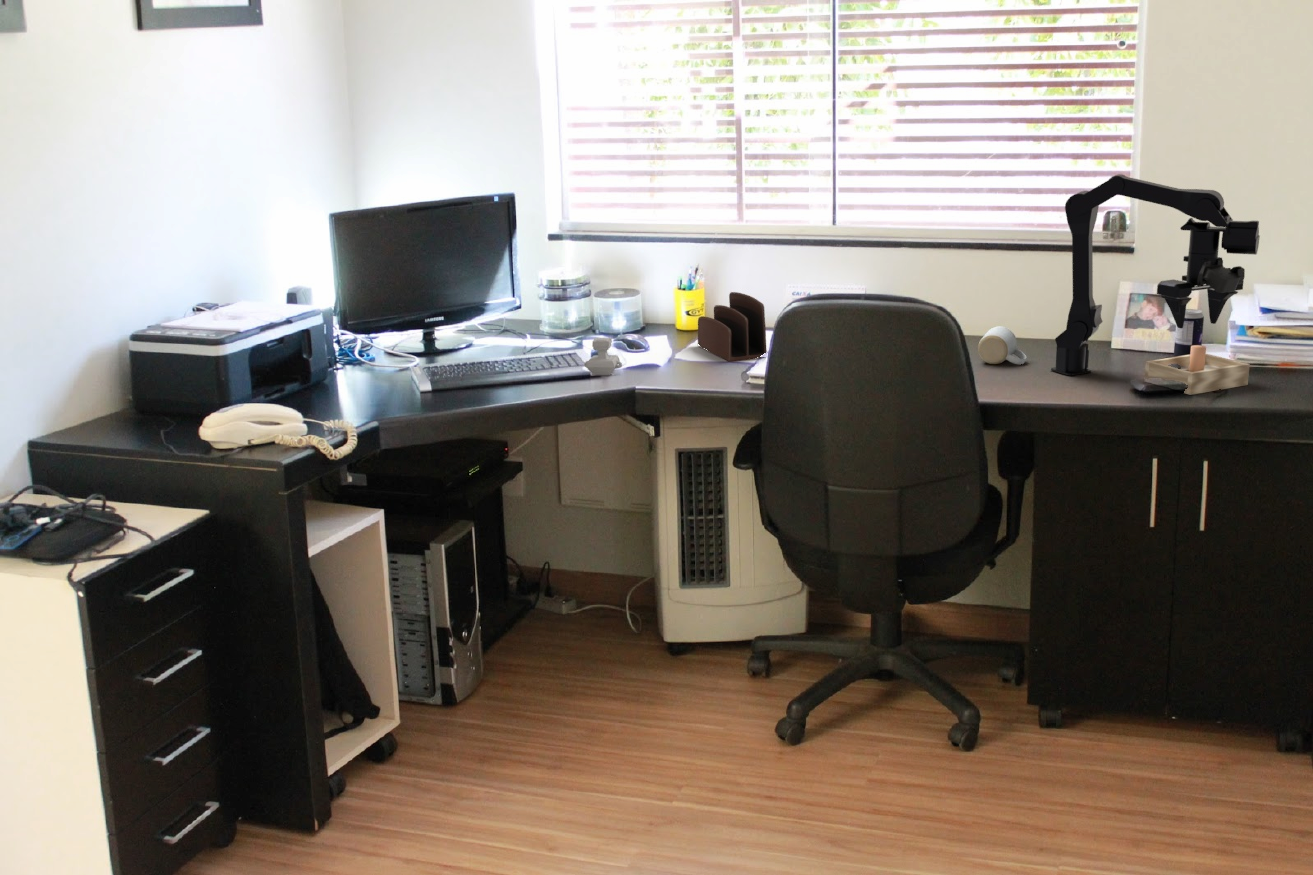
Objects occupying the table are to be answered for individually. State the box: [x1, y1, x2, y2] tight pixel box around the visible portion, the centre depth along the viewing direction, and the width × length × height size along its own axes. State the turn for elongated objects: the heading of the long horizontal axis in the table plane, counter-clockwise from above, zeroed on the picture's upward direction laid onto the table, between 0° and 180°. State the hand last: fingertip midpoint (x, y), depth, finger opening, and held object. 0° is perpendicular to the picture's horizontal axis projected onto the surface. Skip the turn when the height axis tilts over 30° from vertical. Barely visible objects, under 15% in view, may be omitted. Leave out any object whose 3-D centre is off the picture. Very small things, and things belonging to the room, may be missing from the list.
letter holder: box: [697, 291, 768, 363], centre depth 323 cm, size 10×20×14 cm, turn 21°
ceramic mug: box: [977, 325, 1028, 365], centre depth 304 cm, size 11×8×8 cm
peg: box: [1189, 345, 1207, 372], centre depth 280 cm, size 3×3×8 cm
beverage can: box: [1173, 308, 1205, 357], centre depth 297 cm, size 6×6×12 cm
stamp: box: [583, 337, 623, 376], centre depth 306 cm, size 9×7×8 cm
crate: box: [1144, 353, 1251, 396], centre depth 281 cm, size 16×13×4 cm
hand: (1196, 325), depth 279 cm, fingers open, 9 cm apart
